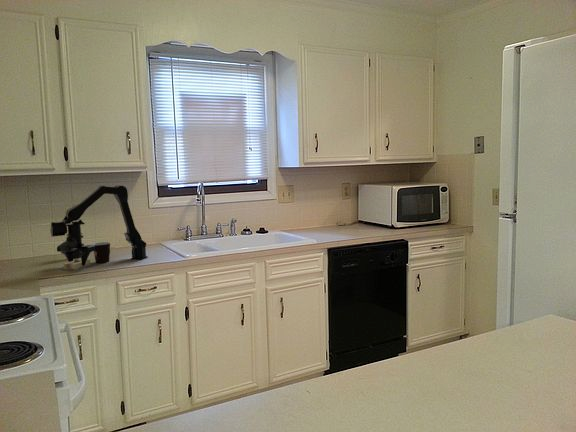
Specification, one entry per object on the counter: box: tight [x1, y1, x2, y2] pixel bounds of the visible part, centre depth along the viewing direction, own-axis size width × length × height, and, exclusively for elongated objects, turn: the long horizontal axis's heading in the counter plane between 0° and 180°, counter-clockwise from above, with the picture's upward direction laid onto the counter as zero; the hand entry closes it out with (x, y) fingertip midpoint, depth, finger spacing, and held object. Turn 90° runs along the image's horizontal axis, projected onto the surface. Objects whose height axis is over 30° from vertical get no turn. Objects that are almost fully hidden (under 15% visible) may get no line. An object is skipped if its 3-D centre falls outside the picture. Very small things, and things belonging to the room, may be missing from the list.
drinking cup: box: [66, 232, 83, 260], centre depth 256 cm, size 8×8×20 cm
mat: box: [54, 262, 100, 272], centre depth 234 cm, size 14×16×1 cm
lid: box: [63, 258, 91, 269], centre depth 234 cm, size 7×10×4 cm
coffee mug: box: [91, 241, 111, 264], centre depth 242 cm, size 12×9×10 cm
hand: (77, 265), depth 234 cm, fingers closed on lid, 7 cm apart
